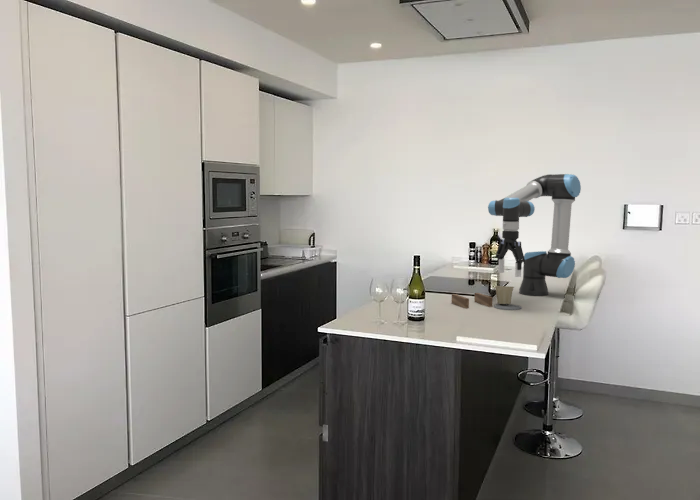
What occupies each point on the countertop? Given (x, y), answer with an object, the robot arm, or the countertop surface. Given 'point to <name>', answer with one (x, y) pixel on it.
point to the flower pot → (504, 294)
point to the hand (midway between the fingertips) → (509, 274)
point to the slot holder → (478, 298)
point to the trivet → (507, 306)
